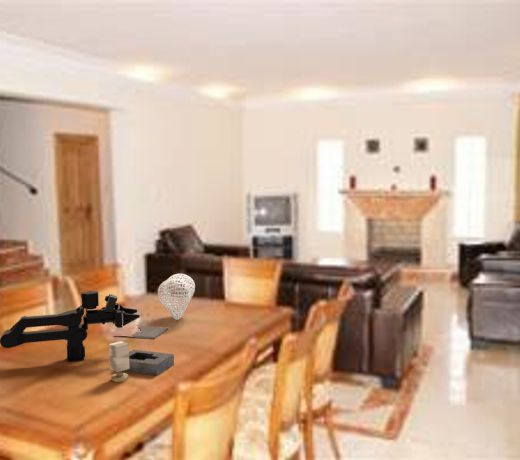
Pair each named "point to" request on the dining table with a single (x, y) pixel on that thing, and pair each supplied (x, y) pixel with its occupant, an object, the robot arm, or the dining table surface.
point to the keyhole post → (119, 360)
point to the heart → (165, 294)
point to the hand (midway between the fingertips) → (138, 313)
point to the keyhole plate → (149, 362)
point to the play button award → (150, 332)
